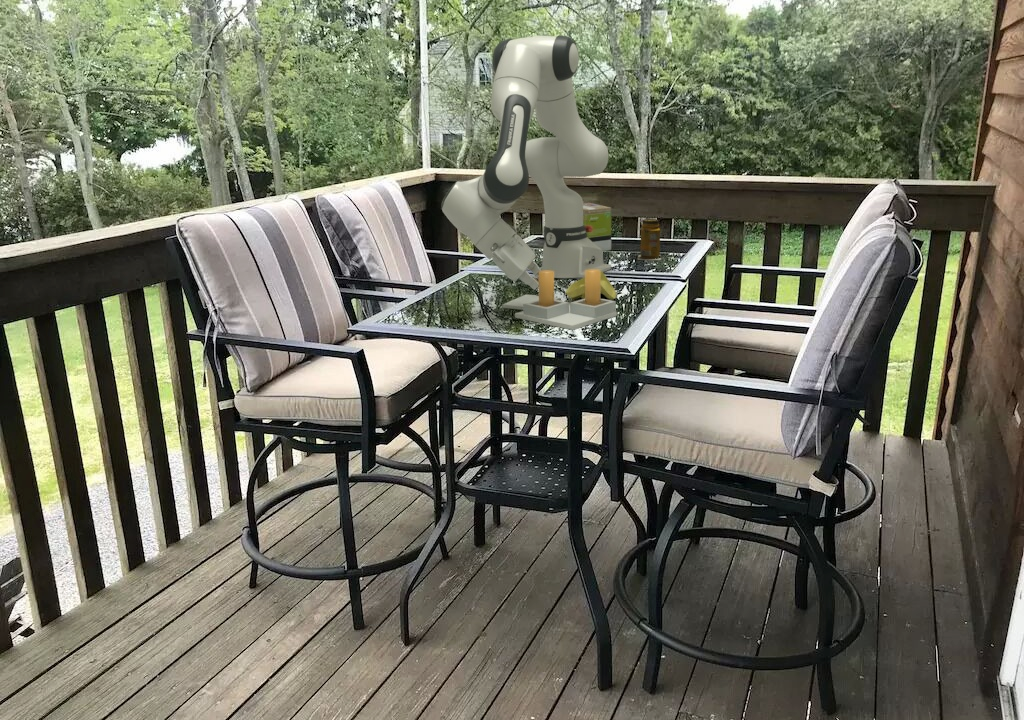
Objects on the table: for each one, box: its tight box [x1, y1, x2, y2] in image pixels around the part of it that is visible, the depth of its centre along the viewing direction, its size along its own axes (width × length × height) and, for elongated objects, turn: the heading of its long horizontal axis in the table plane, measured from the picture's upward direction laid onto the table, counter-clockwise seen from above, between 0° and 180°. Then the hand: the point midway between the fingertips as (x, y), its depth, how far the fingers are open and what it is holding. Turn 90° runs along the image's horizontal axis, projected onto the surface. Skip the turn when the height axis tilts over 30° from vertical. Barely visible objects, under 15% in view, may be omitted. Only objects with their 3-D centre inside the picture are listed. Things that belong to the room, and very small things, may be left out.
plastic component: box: [565, 271, 617, 302], centre depth 207 cm, size 20×7×10 cm
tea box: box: [583, 202, 612, 252], centre depth 278 cm, size 15×10×15 cm, turn 25°
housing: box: [514, 269, 618, 331], centre depth 191 cm, size 16×18×11 cm
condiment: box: [637, 218, 662, 261], centre depth 258 cm, size 7×8×12 cm
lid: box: [501, 293, 561, 311], centre depth 206 cm, size 14×10×1 cm
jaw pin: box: [538, 270, 555, 307], centre depth 191 cm, size 4×4×10 cm
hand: (540, 282), depth 191 cm, fingers open, 8 cm apart
